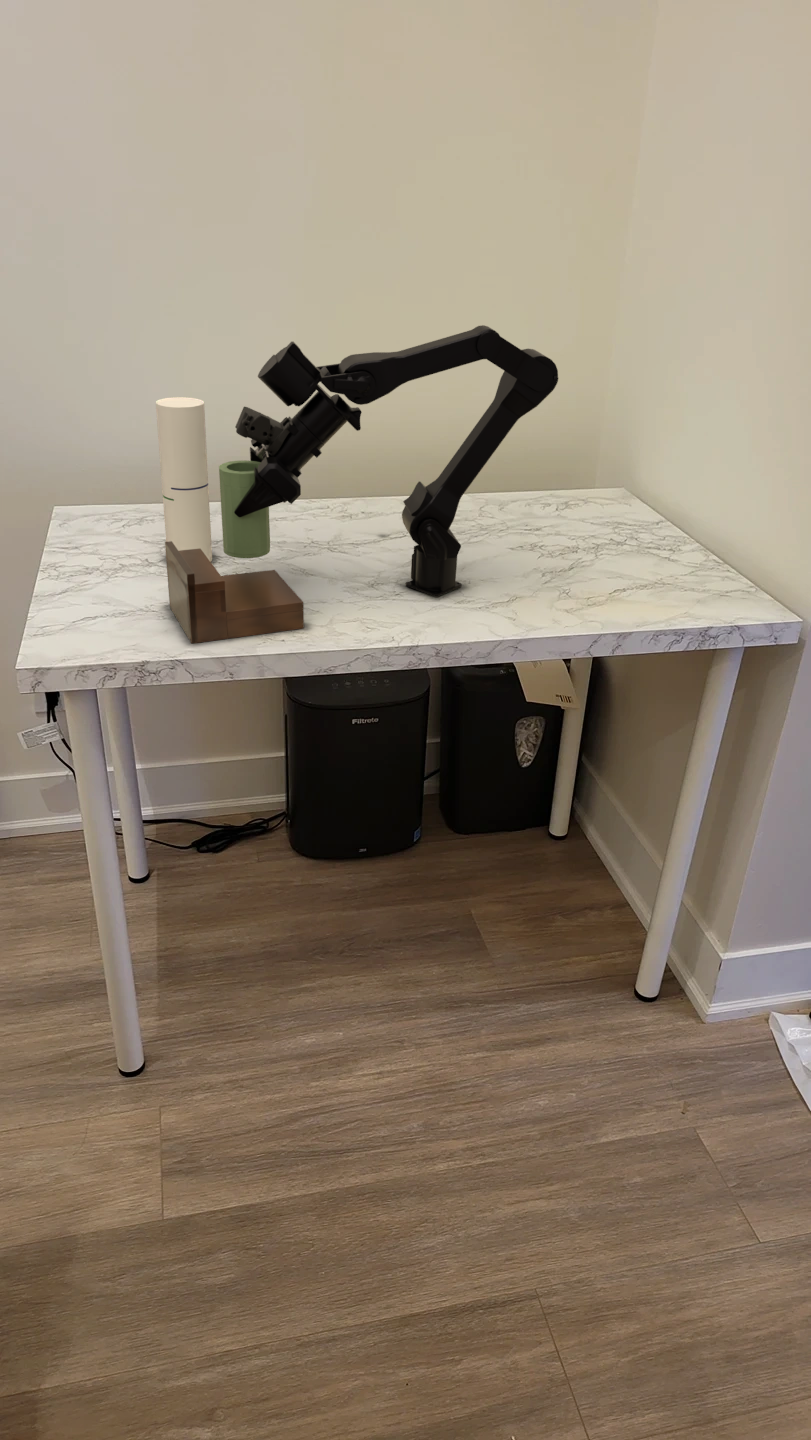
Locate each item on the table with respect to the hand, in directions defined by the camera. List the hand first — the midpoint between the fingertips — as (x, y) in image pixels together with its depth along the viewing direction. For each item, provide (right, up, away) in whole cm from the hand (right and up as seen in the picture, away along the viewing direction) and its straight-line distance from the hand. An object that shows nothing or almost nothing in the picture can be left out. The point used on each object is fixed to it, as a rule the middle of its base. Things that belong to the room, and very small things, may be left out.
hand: (235, 507), depth 149 cm
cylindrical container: (-10, -5, +18) cm, 22 cm away
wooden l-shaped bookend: (0, -16, -1) cm, 16 cm away
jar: (+1, -6, +3) cm, 7 cm away
